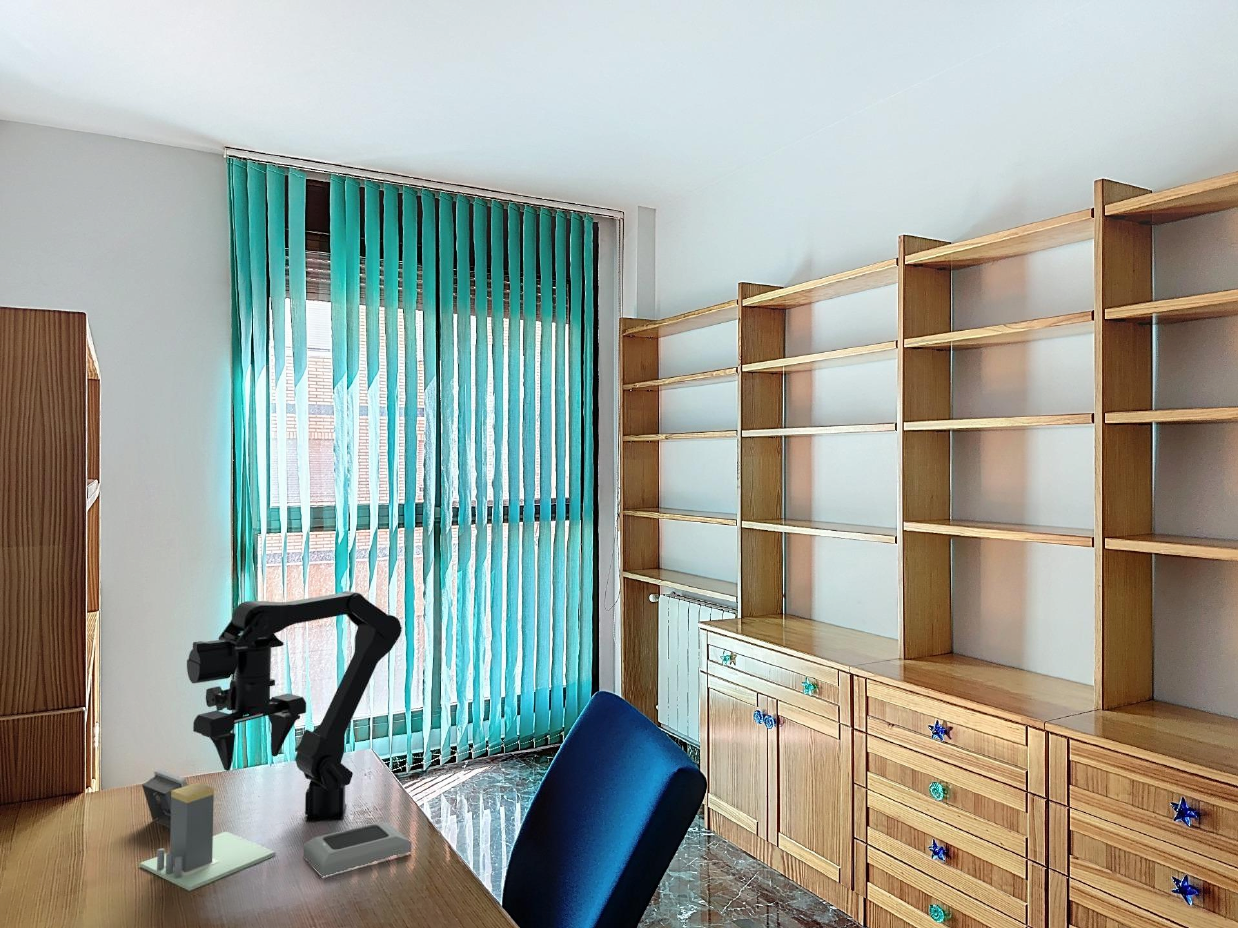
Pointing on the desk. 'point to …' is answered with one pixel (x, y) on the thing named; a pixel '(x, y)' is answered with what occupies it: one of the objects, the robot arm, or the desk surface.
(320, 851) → the grey beveled box
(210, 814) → the plug block
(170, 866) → the board
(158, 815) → the electrical switch
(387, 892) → the desk surface
